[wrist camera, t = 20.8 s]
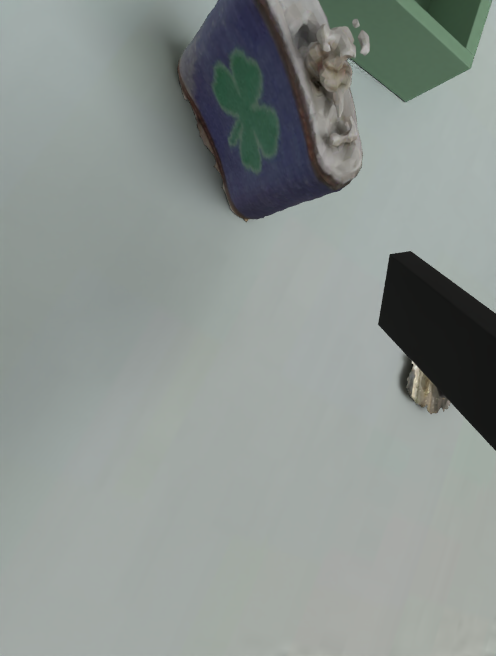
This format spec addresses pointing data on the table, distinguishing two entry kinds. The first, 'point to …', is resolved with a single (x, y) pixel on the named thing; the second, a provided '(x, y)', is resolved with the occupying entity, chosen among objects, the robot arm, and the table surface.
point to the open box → (412, 39)
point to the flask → (274, 101)
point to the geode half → (425, 391)
